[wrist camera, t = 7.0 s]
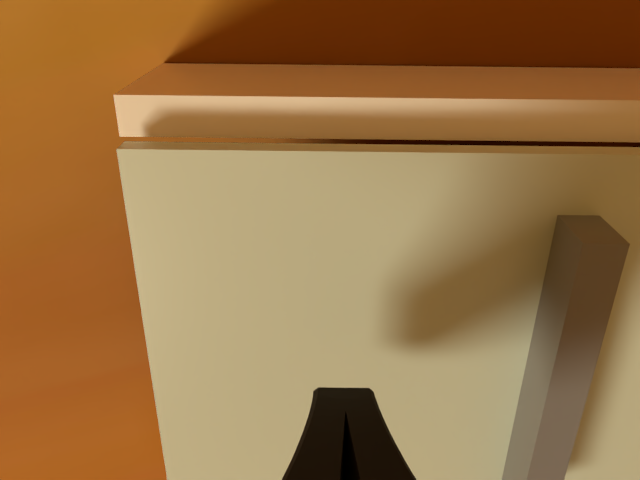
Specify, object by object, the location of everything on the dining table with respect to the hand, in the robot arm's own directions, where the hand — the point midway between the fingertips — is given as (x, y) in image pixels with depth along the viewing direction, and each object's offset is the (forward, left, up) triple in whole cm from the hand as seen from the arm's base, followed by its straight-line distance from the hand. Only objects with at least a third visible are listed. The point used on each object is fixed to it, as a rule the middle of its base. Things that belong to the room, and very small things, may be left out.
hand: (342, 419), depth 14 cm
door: (0, -3, -3) cm, 4 cm away
